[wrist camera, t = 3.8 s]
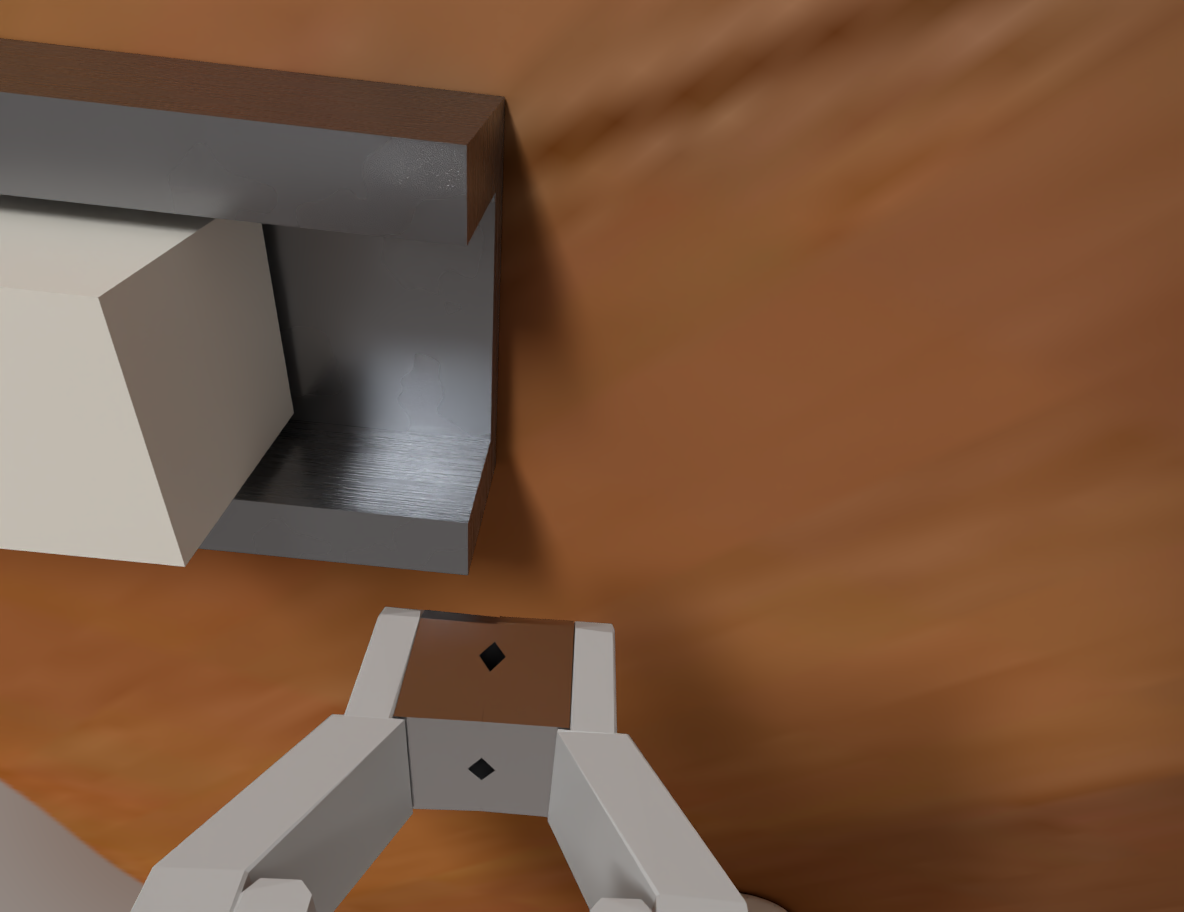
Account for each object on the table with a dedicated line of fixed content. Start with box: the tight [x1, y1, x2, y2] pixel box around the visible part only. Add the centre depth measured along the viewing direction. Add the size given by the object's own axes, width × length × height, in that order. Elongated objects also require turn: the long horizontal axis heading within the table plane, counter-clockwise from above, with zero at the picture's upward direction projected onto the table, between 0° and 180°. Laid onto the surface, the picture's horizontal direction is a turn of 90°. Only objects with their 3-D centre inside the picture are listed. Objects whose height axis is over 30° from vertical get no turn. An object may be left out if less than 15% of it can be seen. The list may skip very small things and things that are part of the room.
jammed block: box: [0, 194, 294, 567], centre depth 13 cm, size 5×5×5 cm
